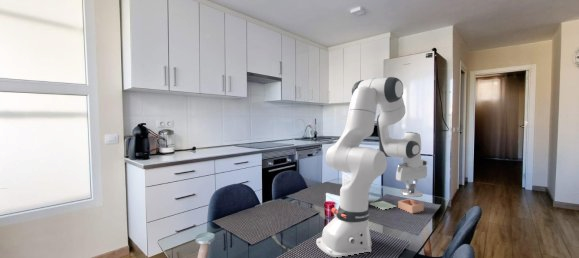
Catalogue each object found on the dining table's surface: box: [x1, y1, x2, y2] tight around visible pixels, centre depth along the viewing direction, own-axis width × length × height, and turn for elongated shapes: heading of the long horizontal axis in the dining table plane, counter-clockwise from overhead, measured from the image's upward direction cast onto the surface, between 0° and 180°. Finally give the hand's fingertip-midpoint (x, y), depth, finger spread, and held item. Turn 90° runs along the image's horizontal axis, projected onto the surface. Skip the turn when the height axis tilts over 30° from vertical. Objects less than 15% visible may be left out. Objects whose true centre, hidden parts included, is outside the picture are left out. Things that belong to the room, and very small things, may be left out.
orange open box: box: [397, 198, 425, 215], centre depth 138 cm, size 9×9×4 cm
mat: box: [369, 200, 397, 211], centre depth 144 cm, size 10×10×1 cm
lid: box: [399, 183, 424, 198], centre depth 138 cm, size 11×11×5 cm
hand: (411, 187), depth 138 cm, fingers closed on lid, 3 cm apart
